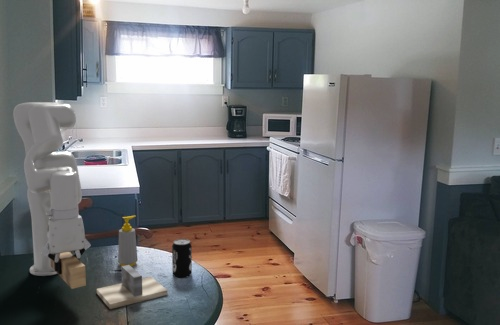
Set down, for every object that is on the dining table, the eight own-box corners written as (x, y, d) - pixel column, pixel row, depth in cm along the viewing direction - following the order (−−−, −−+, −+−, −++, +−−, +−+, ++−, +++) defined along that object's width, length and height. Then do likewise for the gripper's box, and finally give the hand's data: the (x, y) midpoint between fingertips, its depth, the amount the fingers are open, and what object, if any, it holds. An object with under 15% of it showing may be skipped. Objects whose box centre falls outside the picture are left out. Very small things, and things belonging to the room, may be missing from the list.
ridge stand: (96, 293, 144) (95, 270, 143) (151, 280, 154) (150, 259, 153) (110, 309, 134) (109, 284, 133) (167, 294, 144) (167, 271, 143)
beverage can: (188, 279, 156) (187, 245, 154) (169, 277, 157) (169, 243, 155) (194, 272, 162) (194, 239, 161) (176, 270, 164) (176, 238, 162)
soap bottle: (140, 265, 169) (139, 217, 166) (122, 269, 164) (121, 220, 162) (133, 259, 174) (132, 213, 171) (115, 263, 170) (113, 216, 167)
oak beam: (50, 266, 147) (49, 248, 146) (63, 263, 149) (62, 245, 148) (71, 288, 131) (71, 269, 130) (85, 285, 134) (85, 265, 133)
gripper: (36, 220, 129) (39, 282, 132) (97, 212, 139) (99, 270, 142) (31, 213, 135) (34, 272, 138) (90, 206, 145) (91, 262, 148)
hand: (67, 270), depth 140 cm, fingers closed on oak beam, 4 cm apart
